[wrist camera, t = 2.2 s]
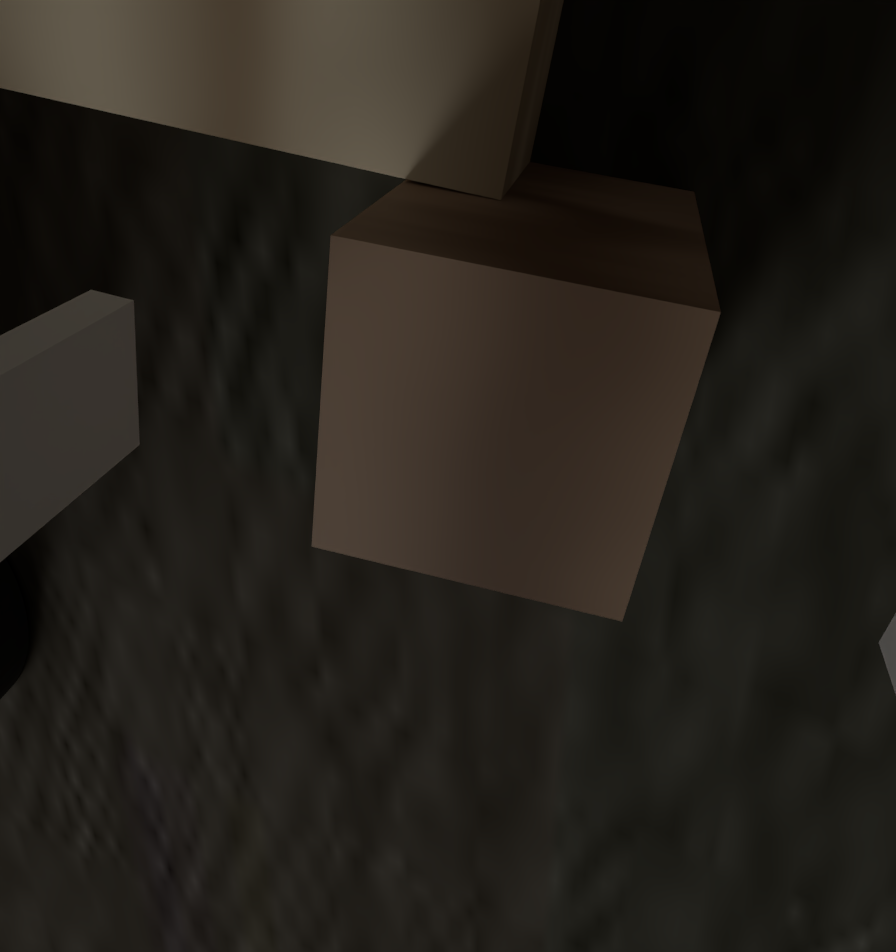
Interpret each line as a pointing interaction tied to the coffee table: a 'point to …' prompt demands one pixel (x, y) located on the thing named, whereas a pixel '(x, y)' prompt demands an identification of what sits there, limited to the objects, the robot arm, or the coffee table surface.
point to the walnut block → (511, 381)
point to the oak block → (307, 75)
